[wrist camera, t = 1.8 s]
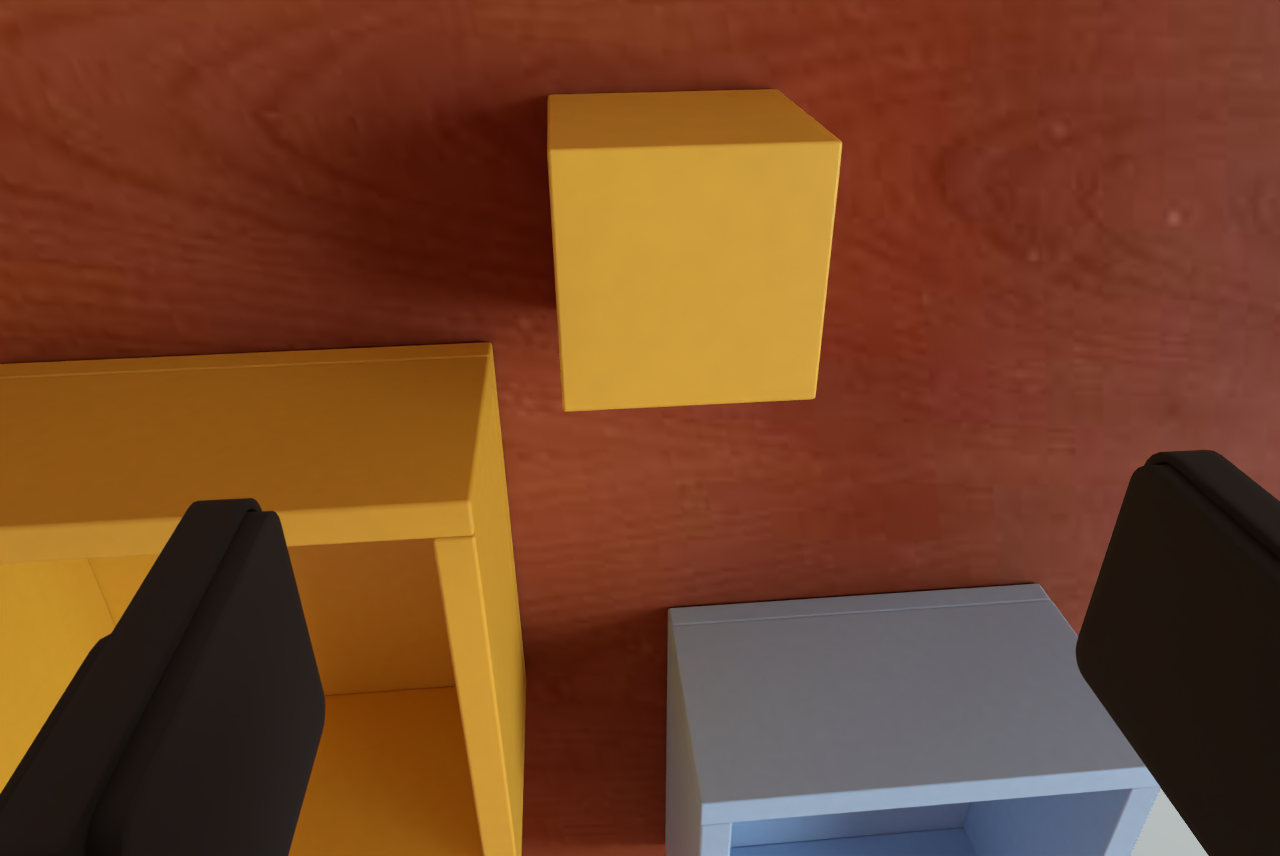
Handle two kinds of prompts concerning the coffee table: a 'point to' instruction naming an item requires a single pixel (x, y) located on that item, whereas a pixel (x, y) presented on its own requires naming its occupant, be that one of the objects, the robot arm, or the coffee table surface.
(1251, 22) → the coffee table surface
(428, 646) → the mustard bin
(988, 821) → the blue bin
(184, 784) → the robot arm
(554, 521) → the coffee table surface
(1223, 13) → the coffee table surface
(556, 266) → the mustard block
